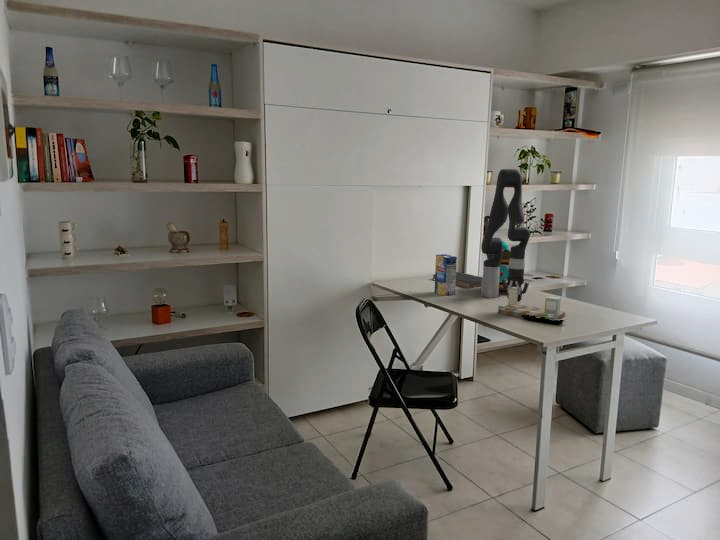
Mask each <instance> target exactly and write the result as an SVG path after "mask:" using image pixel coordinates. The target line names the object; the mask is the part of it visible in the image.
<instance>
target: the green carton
mask: <svg viewBox="0 0 720 540" xmlns="http://www.w3.org/2000/svg"><path fill="white" fill-rule="evenodd" d="M544 299H545V300H544V309H545V312H544V313H547V314H553V315H556V316H557V315H559V314H560V311H561V299H562V297H557V296H551V295H550V296H546V297H545V298H544Z"/></svg>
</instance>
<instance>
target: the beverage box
mask: <svg viewBox="0 0 720 540" xmlns="http://www.w3.org/2000/svg"><path fill="white" fill-rule="evenodd" d="M457 262H458V257H457V256H454V255H450V254H447V253H445V254H443V253H442V254H436V255H435V269H434V270H435V271H434V272H435V273H434V274H435V280H434V293H436V294H439V295H442V296H443V297H451V296H456V286H457V285H456V272H457V264H458V263H457Z"/></svg>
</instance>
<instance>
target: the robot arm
mask: <svg viewBox="0 0 720 540" xmlns="http://www.w3.org/2000/svg"><path fill="white" fill-rule="evenodd" d="M521 173H522V172H521V171H520V170H519V169H515V168H512V169H511V168H505V169H504V168H503V169H500V171H499V172H498V175H497V178H496V179H497V180H496V187H495V191H494V192H495V193H494V198H493V201H492V205H491V209H490V211H489V212H490V213H489V217H488V220H487V221H488V222H487V225H486V229H485V232H484V235H483V238H482V241H481V246H480V247H481V248H480V249H481V252H482V254H485V255H486V254H493V256H492V257H491V258H489V259H487V258H486V259H485V260H484V261H483V266H482V267H483V270H482V271H483V272H482V277H483V279H481V287H480V297H481V296H482V297H484V298H490V299H491V298H494V297H495V298H498V297H499V295H500V292H499V291H500V290H499V280H500V264H501V257H502V248H503V243H502V241H503V239H502V238H500V237H494V235H495V234H496V233H497V232H498V230H500V229H501V228H502V227H503V226H504V224H505V223H506V222H507V220H508V230H507V237H508V238H507V239H508V241H510V242H519V243H518V244H517V245H513V246H511V247H510V249H509V251H510V260H509V271H508V278H507V279H503V280H502V284H503V288H504V290H503V291H504V292H506V293H507V297H506V298H507V299H508V298H509V289H511V288H513V287H516V288H517V290H518V302H519V301H520V302H521V301H522V297H523V296H522V295H524V294H526V293H527V290H528V288H529V286H530V282H528V281H526V280H525V264H526V263H525V255H526V254H525V253H526V249H527V245H528V243H529V240H530V238H531V237H530V236H531V232H530V229H529V228H528V227H526V226H525V227H524V226H518V225H521V224H523V223H524V221H525V219H524V212H523V202H522V199H523V198H522V197H523V196H522V192H523V190H522V188H523V187H522V186H523V185H522V184H523V183H522V180H523V179H522V174H521ZM505 188H511V189H512V188H513V190H514V191H513V196H512V198H511V200H510V202H509V204H508V202H507V201H506V198H505V195H504V193H505V192H504V191H505ZM507 281H508V282H509V284H510V285H509V287H508V286H507ZM522 285H523V287H522Z"/></svg>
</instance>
